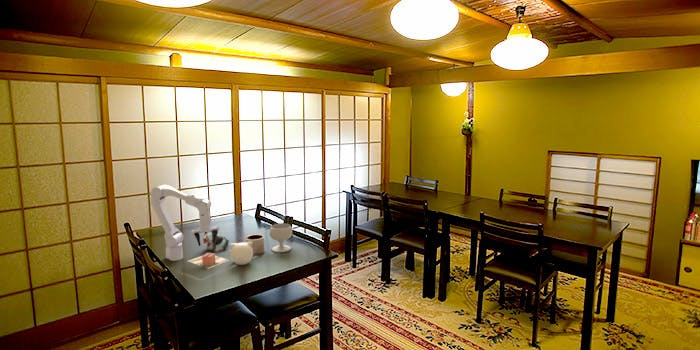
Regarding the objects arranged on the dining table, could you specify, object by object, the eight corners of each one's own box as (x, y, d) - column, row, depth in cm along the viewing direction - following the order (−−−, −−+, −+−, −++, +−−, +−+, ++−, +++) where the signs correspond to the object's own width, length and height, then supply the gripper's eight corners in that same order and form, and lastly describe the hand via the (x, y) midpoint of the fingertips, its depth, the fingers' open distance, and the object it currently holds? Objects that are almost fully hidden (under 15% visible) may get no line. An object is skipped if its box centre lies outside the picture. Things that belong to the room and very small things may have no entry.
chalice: (265, 251, 232) (264, 227, 230) (279, 244, 244) (278, 221, 242) (283, 255, 226) (282, 230, 223) (297, 247, 238) (296, 224, 235)
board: (187, 263, 214) (186, 256, 213) (208, 255, 225) (208, 249, 225) (208, 270, 204) (208, 264, 203) (229, 262, 215) (229, 255, 214)
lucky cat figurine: (226, 253, 227) (213, 236, 222) (208, 260, 229) (195, 244, 223) (231, 239, 241) (219, 222, 235) (215, 245, 242) (203, 229, 237)
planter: (242, 253, 229) (241, 237, 228) (256, 247, 238) (255, 233, 236) (254, 256, 223) (254, 241, 222) (268, 251, 232) (267, 236, 231)
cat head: (227, 270, 204) (226, 248, 202) (228, 261, 216) (227, 240, 214) (256, 267, 208) (255, 245, 206) (255, 258, 221) (254, 238, 219)
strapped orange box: (206, 261, 212) (206, 252, 211) (215, 261, 212) (214, 252, 211) (202, 265, 207) (202, 256, 206) (211, 265, 207) (211, 256, 206)
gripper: (192, 224, 206) (194, 248, 209) (220, 220, 214) (221, 243, 216) (190, 221, 212) (191, 244, 215) (217, 217, 220) (218, 240, 222)
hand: (206, 244), depth 216 cm, fingers open, 7 cm apart
